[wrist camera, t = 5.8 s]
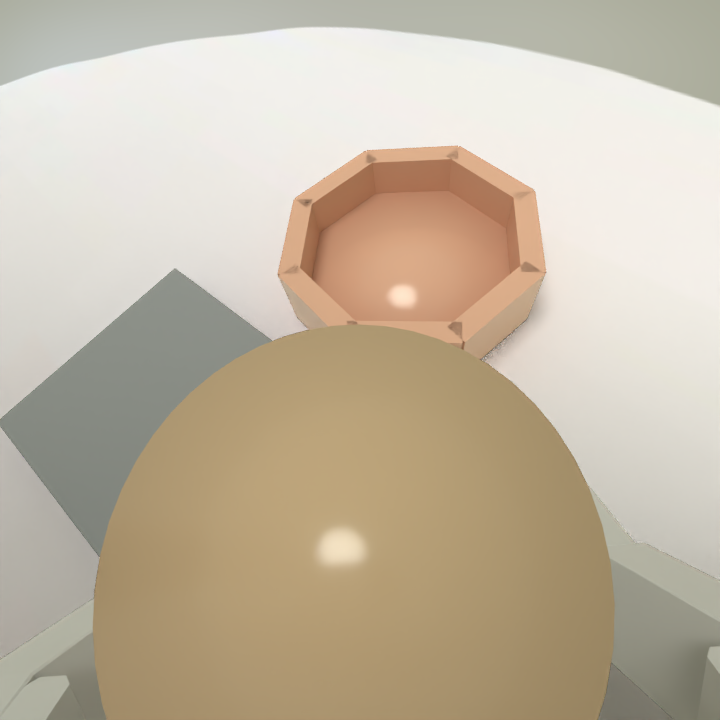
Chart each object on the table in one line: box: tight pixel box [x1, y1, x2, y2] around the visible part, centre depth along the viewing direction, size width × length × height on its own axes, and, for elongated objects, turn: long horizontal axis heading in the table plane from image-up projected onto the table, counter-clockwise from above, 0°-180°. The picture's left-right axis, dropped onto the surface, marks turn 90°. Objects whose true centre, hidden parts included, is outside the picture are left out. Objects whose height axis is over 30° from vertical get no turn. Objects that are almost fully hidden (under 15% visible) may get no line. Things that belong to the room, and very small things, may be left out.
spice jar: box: [93, 325, 615, 720], centre depth 9 cm, size 5×5×11 cm
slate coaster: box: [0, 269, 272, 557], centre depth 17 cm, size 9×9×1 cm
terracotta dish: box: [278, 146, 546, 360], centre depth 17 cm, size 9×9×3 cm
